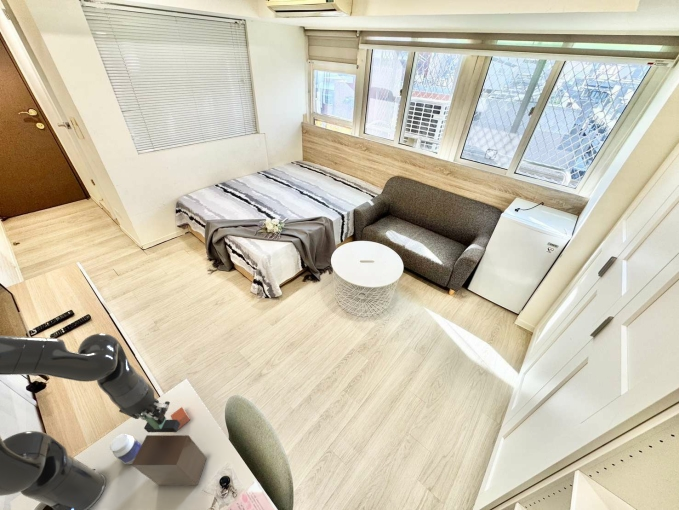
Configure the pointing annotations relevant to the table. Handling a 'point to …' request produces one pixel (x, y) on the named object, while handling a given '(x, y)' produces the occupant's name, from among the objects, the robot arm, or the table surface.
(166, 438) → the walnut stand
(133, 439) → the pill bottle
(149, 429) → the wiper
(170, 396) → the table surface
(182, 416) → the orange red cube
